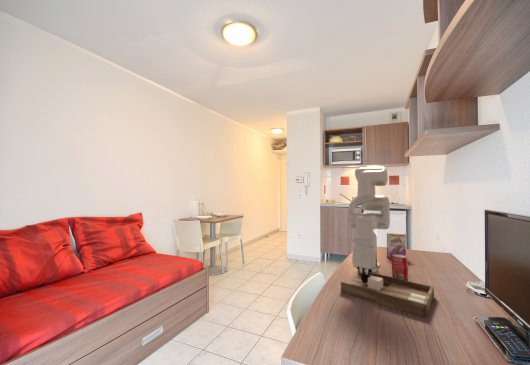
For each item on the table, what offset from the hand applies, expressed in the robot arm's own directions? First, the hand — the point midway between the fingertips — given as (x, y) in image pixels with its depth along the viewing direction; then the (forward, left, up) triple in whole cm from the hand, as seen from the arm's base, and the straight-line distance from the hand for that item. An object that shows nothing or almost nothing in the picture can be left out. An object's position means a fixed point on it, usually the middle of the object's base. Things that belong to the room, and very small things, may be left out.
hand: (364, 282), depth 111 cm
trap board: (0, +9, -3) cm, 10 cm away
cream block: (0, +5, -1) cm, 5 cm away
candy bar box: (-66, -2, -3) cm, 66 cm away
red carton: (-20, +10, -3) cm, 23 cm away
